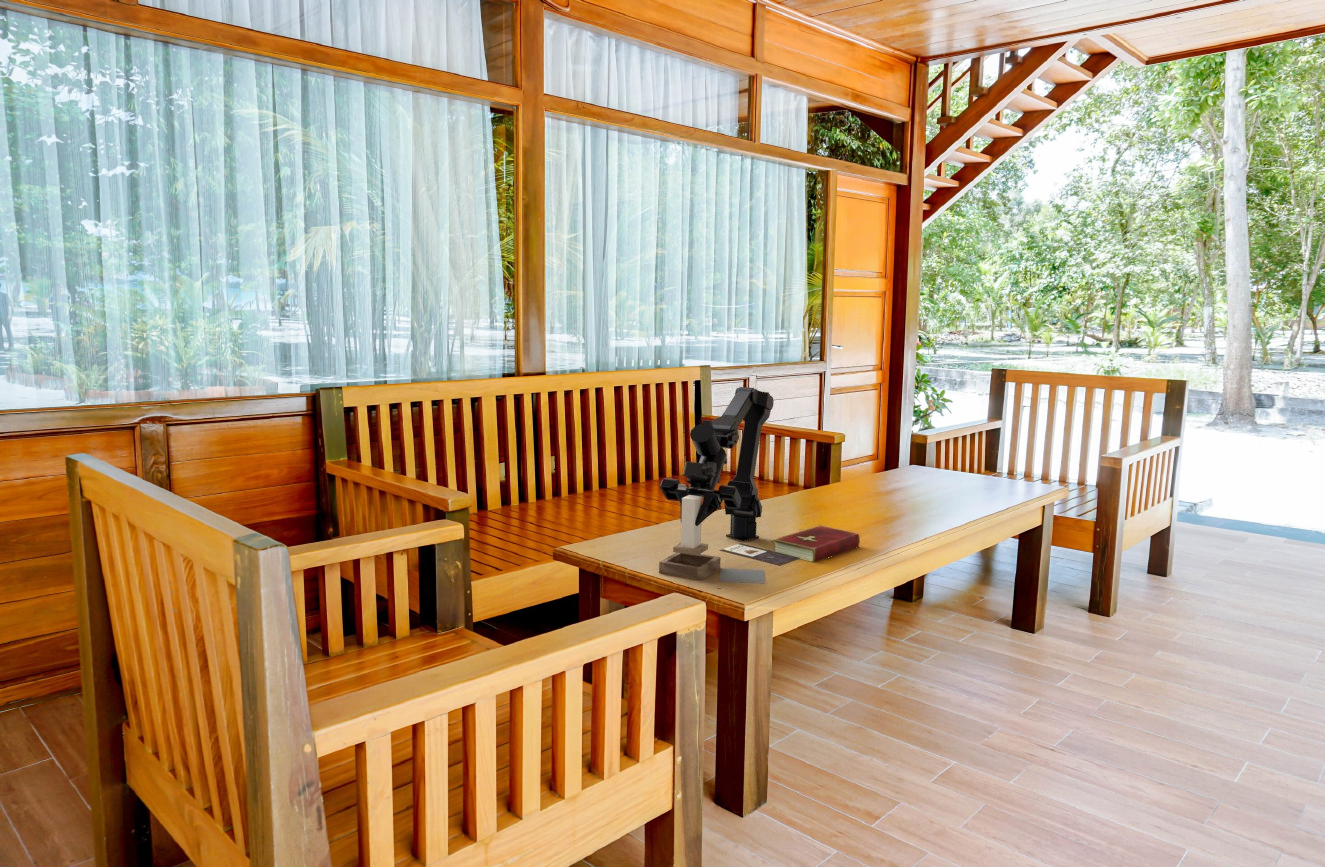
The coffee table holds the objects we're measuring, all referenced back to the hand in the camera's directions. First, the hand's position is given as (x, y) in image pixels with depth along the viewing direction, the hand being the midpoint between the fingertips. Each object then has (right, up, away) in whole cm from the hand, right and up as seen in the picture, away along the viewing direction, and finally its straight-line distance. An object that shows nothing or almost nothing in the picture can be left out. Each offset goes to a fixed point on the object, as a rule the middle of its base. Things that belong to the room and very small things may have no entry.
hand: (688, 523), depth 200 cm
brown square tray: (0, -11, +3) cm, 12 cm away
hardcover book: (+33, -10, +23) cm, 41 cm away
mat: (+12, -12, 0) cm, 17 cm away
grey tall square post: (0, -6, +2) cm, 7 cm away
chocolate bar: (+18, -10, +17) cm, 27 cm away
